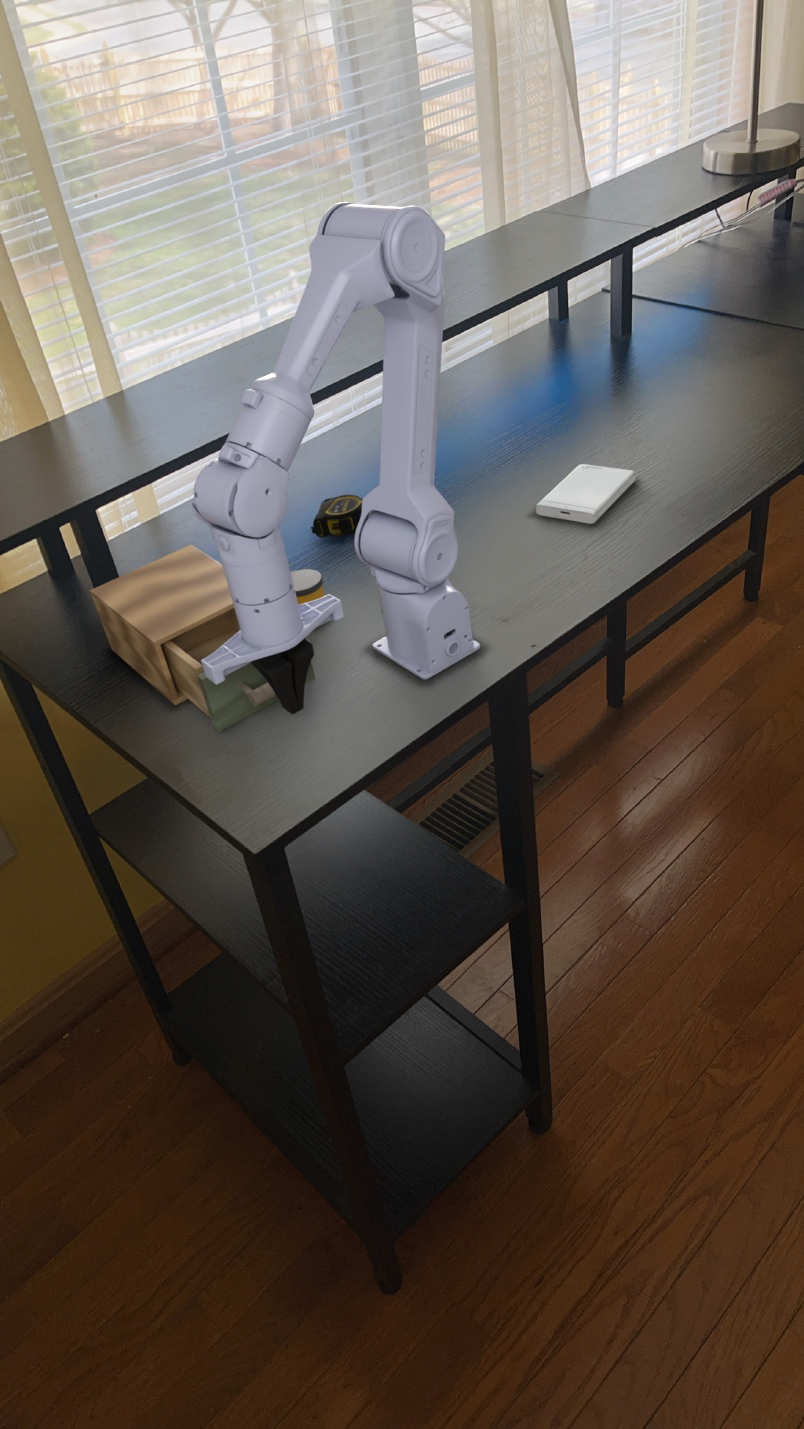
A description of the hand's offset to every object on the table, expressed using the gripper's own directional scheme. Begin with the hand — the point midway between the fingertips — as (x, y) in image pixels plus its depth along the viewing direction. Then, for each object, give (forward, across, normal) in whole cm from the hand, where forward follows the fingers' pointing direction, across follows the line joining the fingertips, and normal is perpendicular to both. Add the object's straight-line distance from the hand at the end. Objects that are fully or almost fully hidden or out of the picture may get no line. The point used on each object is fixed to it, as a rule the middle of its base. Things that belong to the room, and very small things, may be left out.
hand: (292, 707), depth 102 cm
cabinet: (+3, 0, -23) cm, 23 cm away
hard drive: (+4, -54, -12) cm, 56 cm away
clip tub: (+3, -13, -18) cm, 22 cm away
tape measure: (+4, -28, -32) cm, 43 cm away
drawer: (+3, 0, -11) cm, 11 cm away
